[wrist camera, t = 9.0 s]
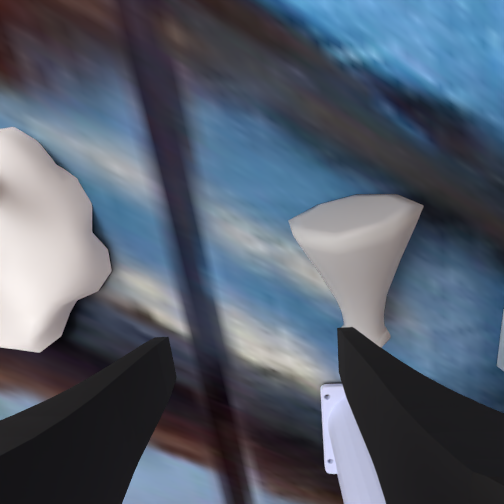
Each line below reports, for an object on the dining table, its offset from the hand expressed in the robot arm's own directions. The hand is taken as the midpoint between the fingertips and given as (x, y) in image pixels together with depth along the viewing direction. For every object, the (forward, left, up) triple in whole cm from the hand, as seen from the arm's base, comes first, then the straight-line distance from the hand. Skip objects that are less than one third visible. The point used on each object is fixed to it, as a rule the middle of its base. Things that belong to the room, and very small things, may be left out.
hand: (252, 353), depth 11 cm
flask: (+5, -6, -6) cm, 10 cm away
